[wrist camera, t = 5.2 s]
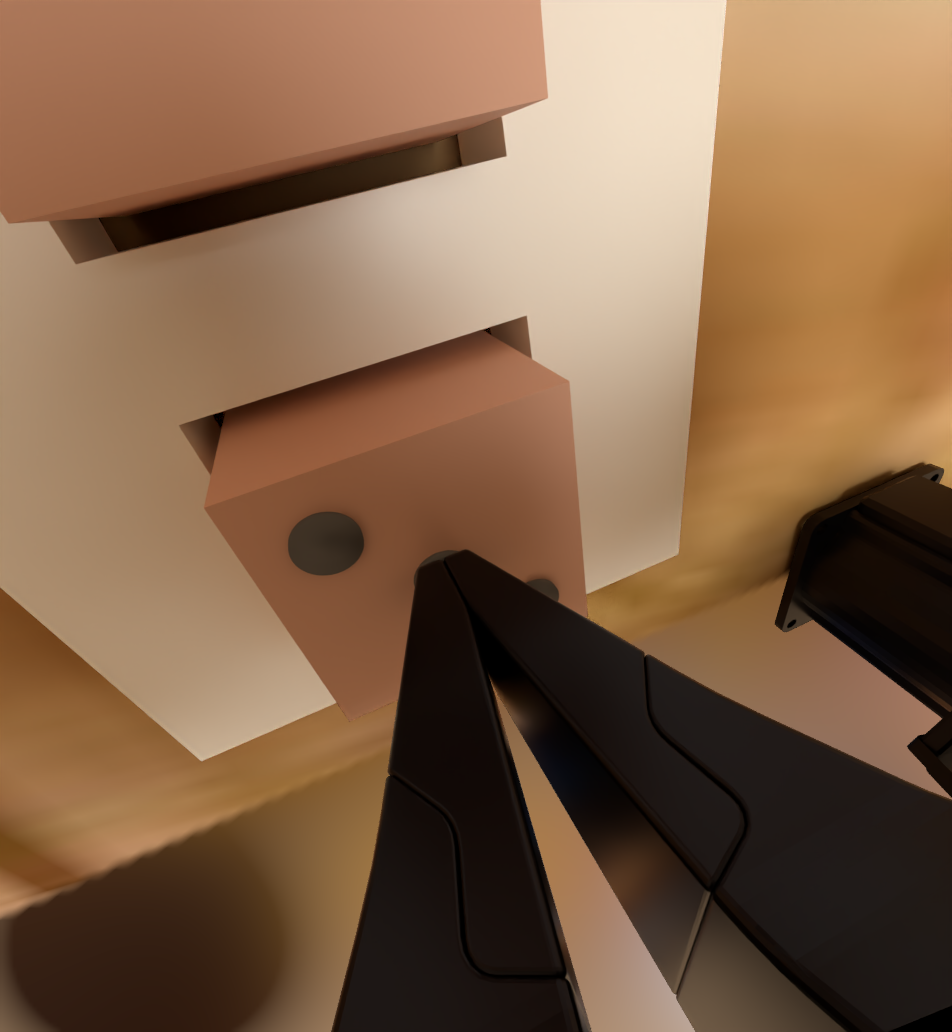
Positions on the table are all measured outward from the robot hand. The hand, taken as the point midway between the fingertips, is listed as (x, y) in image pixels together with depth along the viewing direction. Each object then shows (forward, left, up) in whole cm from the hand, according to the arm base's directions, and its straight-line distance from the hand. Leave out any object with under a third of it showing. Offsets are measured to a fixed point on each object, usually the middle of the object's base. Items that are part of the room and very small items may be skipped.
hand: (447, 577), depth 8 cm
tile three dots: (0, 0, -4) cm, 4 cm away
